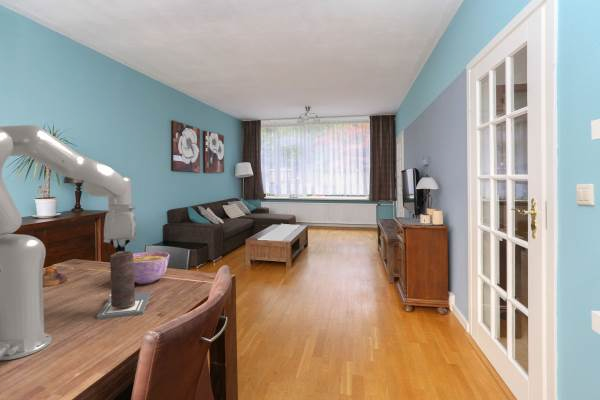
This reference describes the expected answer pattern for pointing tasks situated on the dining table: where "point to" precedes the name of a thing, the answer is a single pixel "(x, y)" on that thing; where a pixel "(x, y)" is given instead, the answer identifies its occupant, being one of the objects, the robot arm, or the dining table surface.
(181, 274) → the dining table surface
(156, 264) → the bowl of food
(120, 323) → the dining table surface
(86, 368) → the dining table surface
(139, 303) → the grey piece
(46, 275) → the orange purple rounded piece
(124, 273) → the brown cylinder
